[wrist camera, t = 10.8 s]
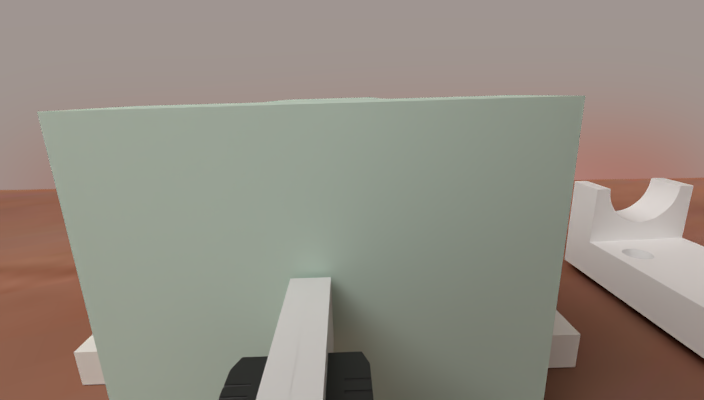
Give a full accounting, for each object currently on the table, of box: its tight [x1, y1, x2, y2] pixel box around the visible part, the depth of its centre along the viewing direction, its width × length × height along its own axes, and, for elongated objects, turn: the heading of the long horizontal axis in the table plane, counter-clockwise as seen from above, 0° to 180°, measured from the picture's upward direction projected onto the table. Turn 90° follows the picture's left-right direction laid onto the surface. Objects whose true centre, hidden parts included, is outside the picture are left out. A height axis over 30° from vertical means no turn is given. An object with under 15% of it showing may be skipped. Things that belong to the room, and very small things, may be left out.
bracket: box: [565, 178, 704, 358], centre depth 24 cm, size 13×7×8 cm, turn 3°
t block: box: [37, 95, 585, 400], centre depth 22 cm, size 16×18×14 cm
